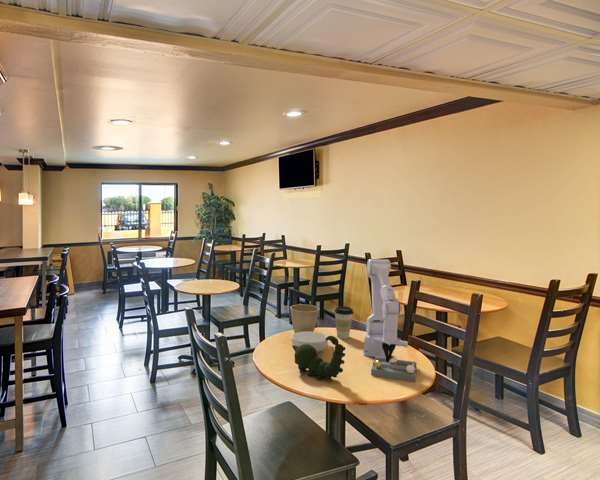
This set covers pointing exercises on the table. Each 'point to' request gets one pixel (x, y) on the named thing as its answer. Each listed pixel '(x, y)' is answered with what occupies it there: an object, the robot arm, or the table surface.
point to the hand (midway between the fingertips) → (388, 361)
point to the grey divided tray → (394, 370)
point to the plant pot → (304, 317)
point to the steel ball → (393, 360)
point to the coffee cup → (343, 321)
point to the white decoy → (410, 369)
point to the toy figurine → (319, 360)
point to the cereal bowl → (310, 339)
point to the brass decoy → (378, 364)
